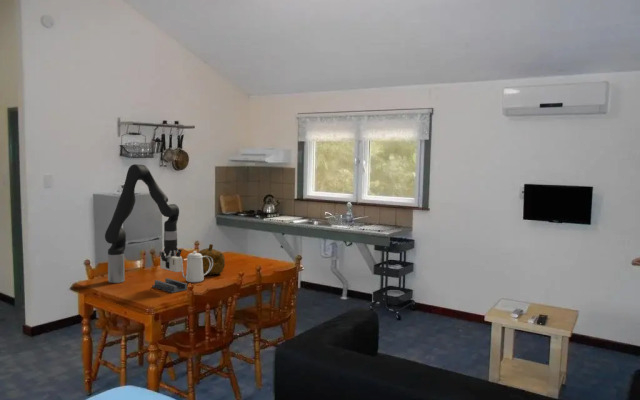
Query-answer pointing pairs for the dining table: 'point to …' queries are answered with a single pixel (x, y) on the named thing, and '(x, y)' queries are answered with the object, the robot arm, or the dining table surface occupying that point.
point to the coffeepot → (195, 267)
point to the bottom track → (170, 285)
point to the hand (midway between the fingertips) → (170, 267)
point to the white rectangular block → (172, 264)
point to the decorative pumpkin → (217, 260)
